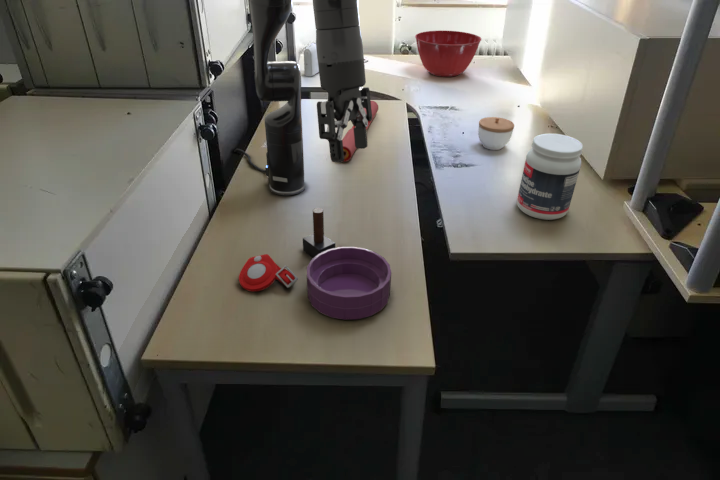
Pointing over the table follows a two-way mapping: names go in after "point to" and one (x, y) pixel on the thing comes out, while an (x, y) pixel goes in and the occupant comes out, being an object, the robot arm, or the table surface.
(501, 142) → the trinket box
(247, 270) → the tracker holder
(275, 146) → the robot arm
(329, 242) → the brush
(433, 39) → the mixing bowl
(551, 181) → the supplement tub
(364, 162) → the table surface
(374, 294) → the bowl
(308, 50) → the photo printer
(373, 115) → the blood vessel
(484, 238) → the table surface
